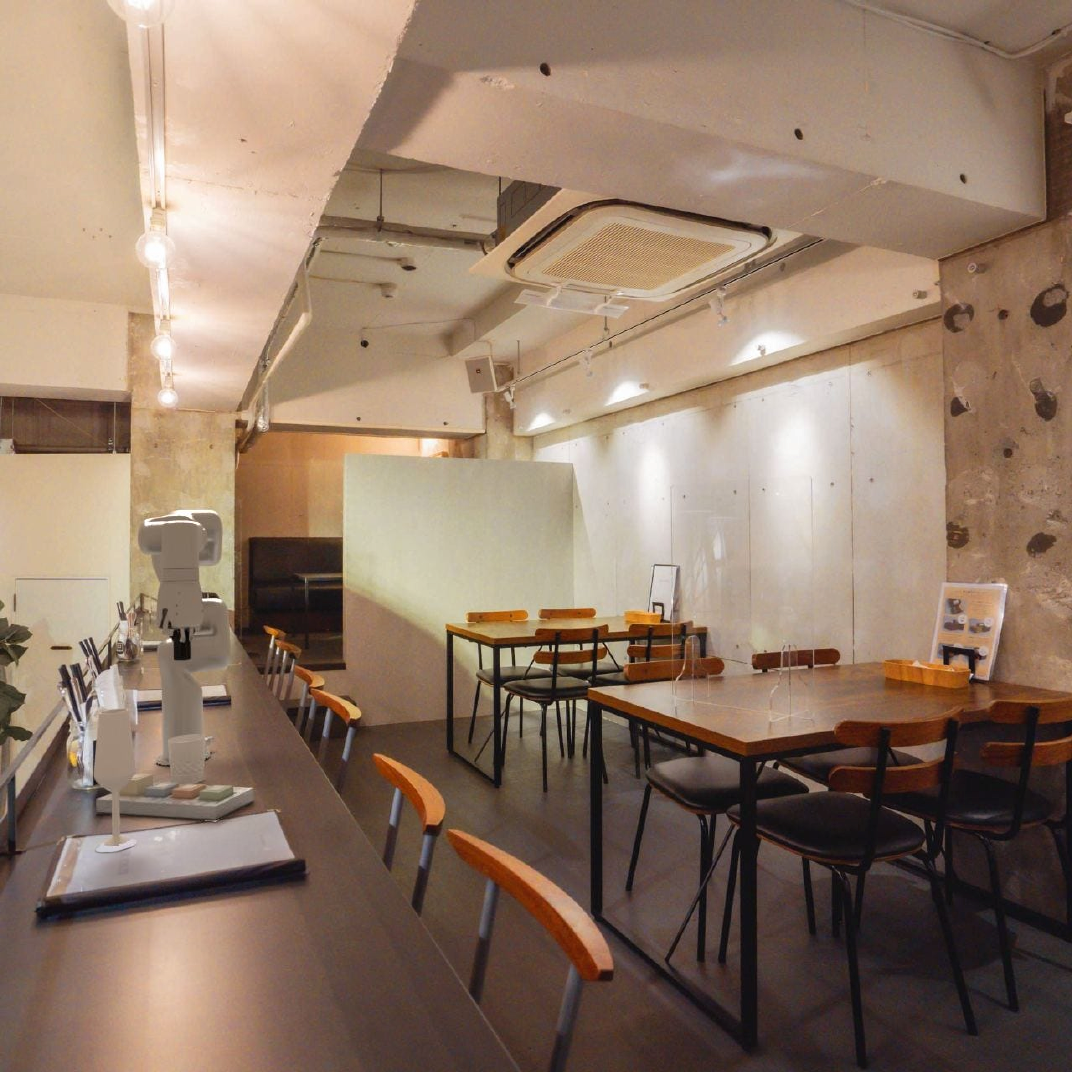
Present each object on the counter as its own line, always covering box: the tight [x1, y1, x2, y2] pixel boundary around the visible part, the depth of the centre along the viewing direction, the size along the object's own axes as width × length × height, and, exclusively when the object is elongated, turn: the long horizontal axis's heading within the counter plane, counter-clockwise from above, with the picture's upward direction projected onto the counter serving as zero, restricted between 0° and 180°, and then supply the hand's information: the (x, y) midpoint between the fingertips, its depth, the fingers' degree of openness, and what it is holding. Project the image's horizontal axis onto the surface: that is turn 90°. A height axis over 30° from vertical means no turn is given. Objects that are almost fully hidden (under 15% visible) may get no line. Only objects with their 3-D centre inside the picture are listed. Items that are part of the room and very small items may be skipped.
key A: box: [172, 783, 207, 799], centre depth 158 cm, size 4×4×4 cm
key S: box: [119, 772, 154, 796], centre depth 161 cm, size 4×4×4 cm
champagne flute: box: [93, 708, 137, 846], centre depth 139 cm, size 7×7×24 cm
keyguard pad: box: [95, 782, 254, 822], centre depth 159 cm, size 12×28×3 cm, turn 75°
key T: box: [145, 781, 179, 798], centre depth 160 cm, size 4×4×4 cm
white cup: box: [168, 734, 206, 784], centre depth 178 cm, size 8×8×10 cm
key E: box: [200, 784, 234, 801], centre depth 156 cm, size 4×4×4 cm
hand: (182, 659), depth 170 cm, fingers closed
